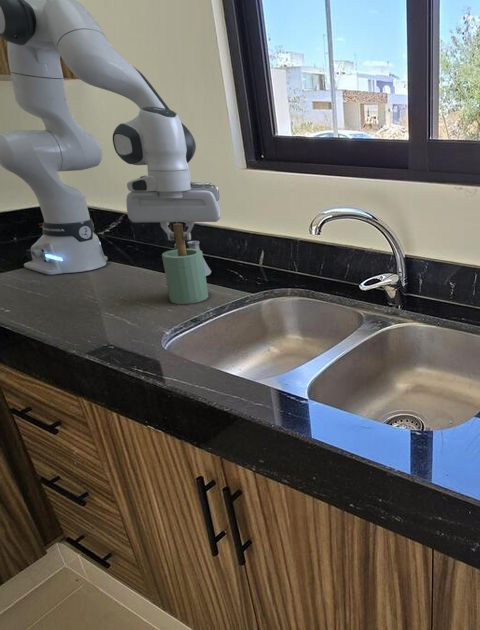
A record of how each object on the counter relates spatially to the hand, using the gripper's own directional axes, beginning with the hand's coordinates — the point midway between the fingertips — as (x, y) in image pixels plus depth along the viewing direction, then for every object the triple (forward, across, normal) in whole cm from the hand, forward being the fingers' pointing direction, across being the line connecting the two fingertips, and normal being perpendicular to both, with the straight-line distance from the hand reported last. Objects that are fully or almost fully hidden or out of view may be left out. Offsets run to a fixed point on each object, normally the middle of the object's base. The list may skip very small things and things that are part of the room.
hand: (179, 239), depth 117 cm
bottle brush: (+12, 0, 0) cm, 12 cm away
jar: (+15, 0, 0) cm, 15 cm away
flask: (+16, +2, -21) cm, 26 cm away
